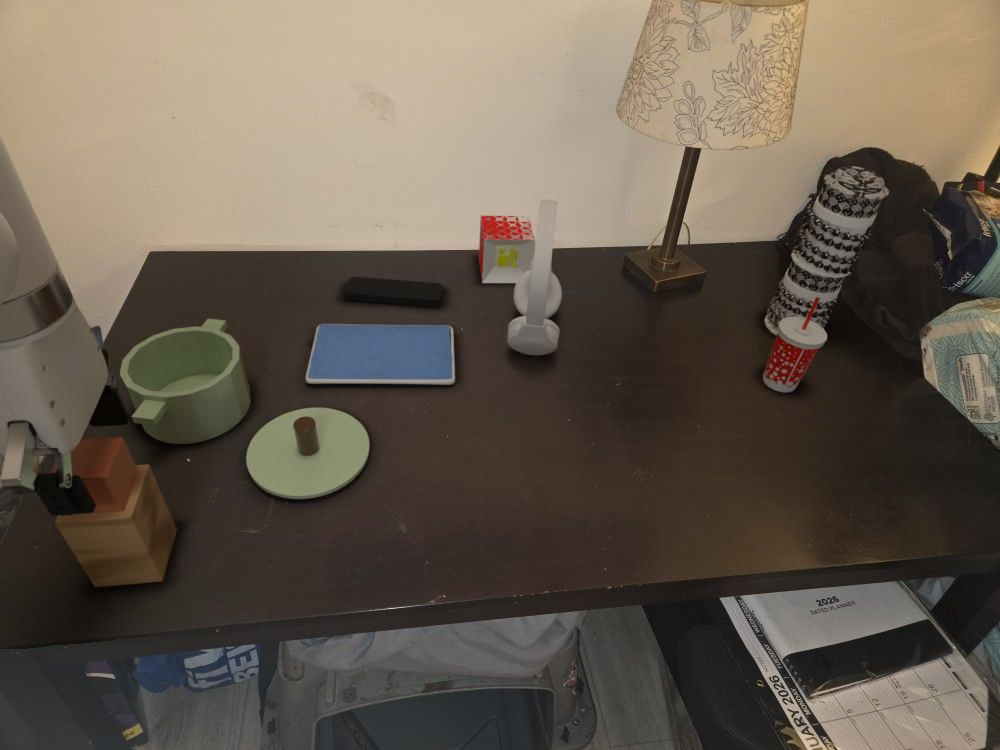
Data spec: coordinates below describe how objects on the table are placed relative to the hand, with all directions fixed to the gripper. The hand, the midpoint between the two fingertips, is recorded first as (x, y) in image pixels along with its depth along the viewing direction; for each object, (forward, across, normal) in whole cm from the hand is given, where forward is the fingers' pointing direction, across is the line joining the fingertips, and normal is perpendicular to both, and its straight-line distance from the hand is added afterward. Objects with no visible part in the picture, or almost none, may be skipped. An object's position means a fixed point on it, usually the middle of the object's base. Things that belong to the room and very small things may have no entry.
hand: (94, 464), depth 55 cm
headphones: (+14, -32, +46) cm, 58 cm away
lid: (+13, -11, +15) cm, 23 cm away
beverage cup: (+14, -20, +78) cm, 82 cm away
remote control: (+14, -44, +26) cm, 53 cm away
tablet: (+14, -29, +24) cm, 40 cm away
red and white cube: (+14, -50, +44) cm, 68 cm away
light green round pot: (+14, -21, +1) cm, 25 cm away
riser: (+13, +1, 0) cm, 13 cm away
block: (+3, 0, 0) cm, 3 cm away
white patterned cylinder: (+14, -32, +87) cm, 94 cm away
